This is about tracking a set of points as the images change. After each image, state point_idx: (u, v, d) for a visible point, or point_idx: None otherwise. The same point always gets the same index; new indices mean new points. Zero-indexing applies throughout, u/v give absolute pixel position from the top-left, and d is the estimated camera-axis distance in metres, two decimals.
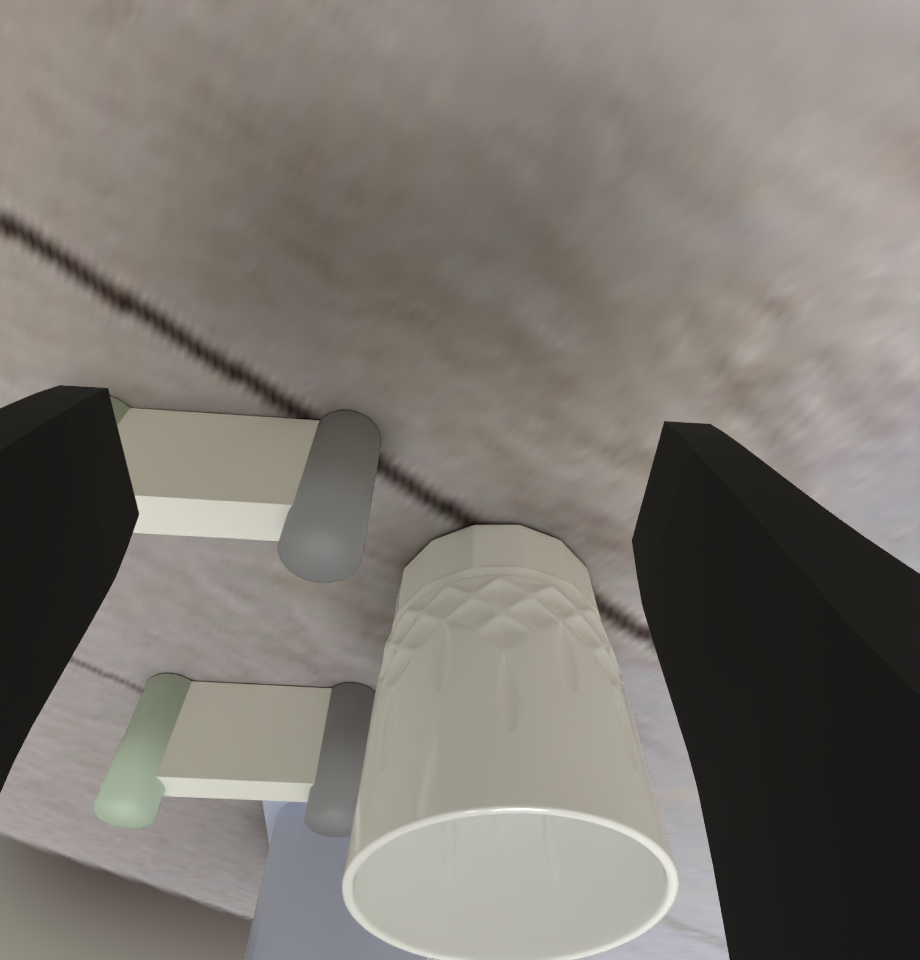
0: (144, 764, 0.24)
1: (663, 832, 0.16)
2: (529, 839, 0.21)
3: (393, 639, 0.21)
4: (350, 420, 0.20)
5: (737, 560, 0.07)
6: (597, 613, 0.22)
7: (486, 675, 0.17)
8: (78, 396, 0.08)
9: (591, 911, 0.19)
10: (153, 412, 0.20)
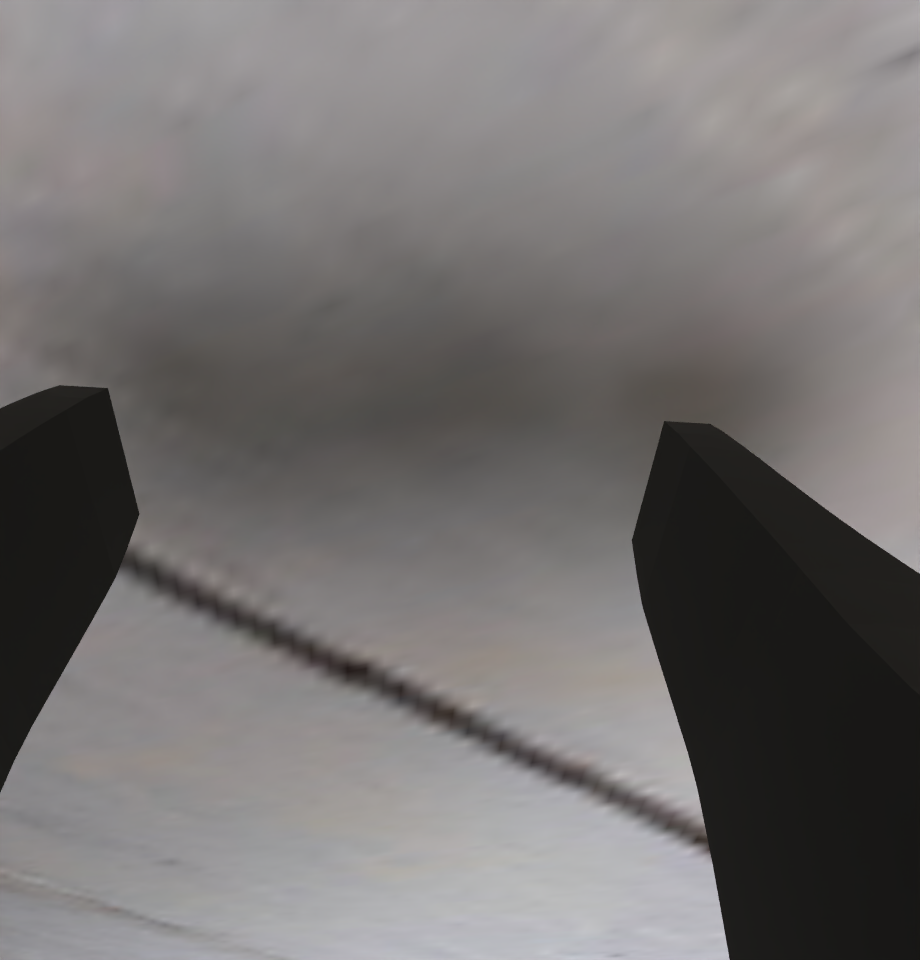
0: None
1: None
2: None
3: None
4: None
5: (737, 560, 0.07)
6: None
7: None
8: (78, 396, 0.08)
9: None
10: None
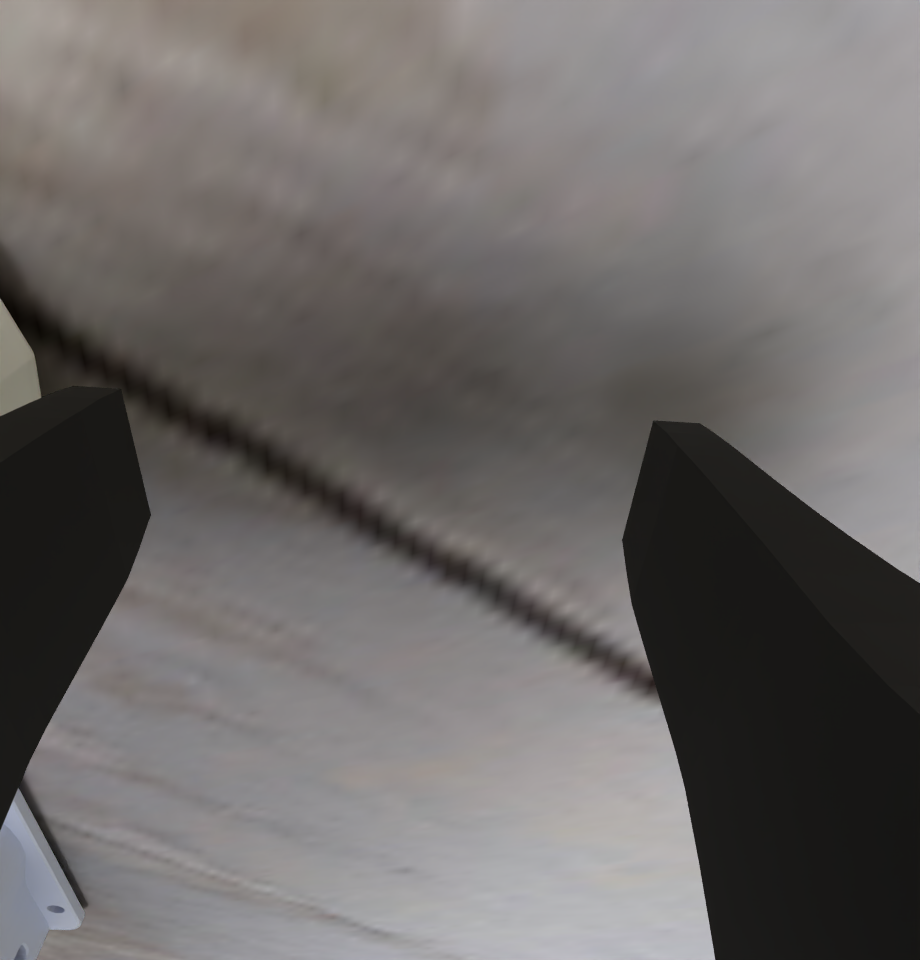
0: None
1: None
2: None
3: None
4: None
5: (723, 559, 0.07)
6: None
7: None
8: (92, 397, 0.08)
9: None
10: None
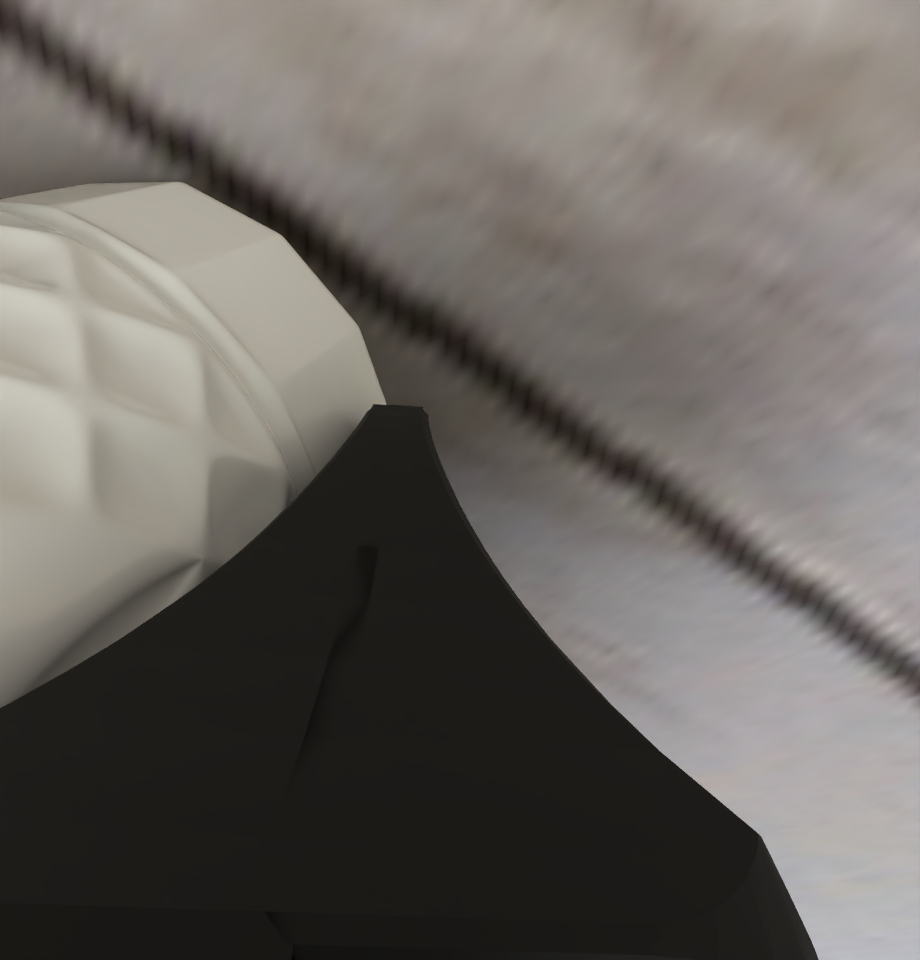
0: None
1: None
2: None
3: None
4: None
5: None
6: (266, 389, 0.08)
7: None
8: (409, 416, 0.09)
9: None
10: None
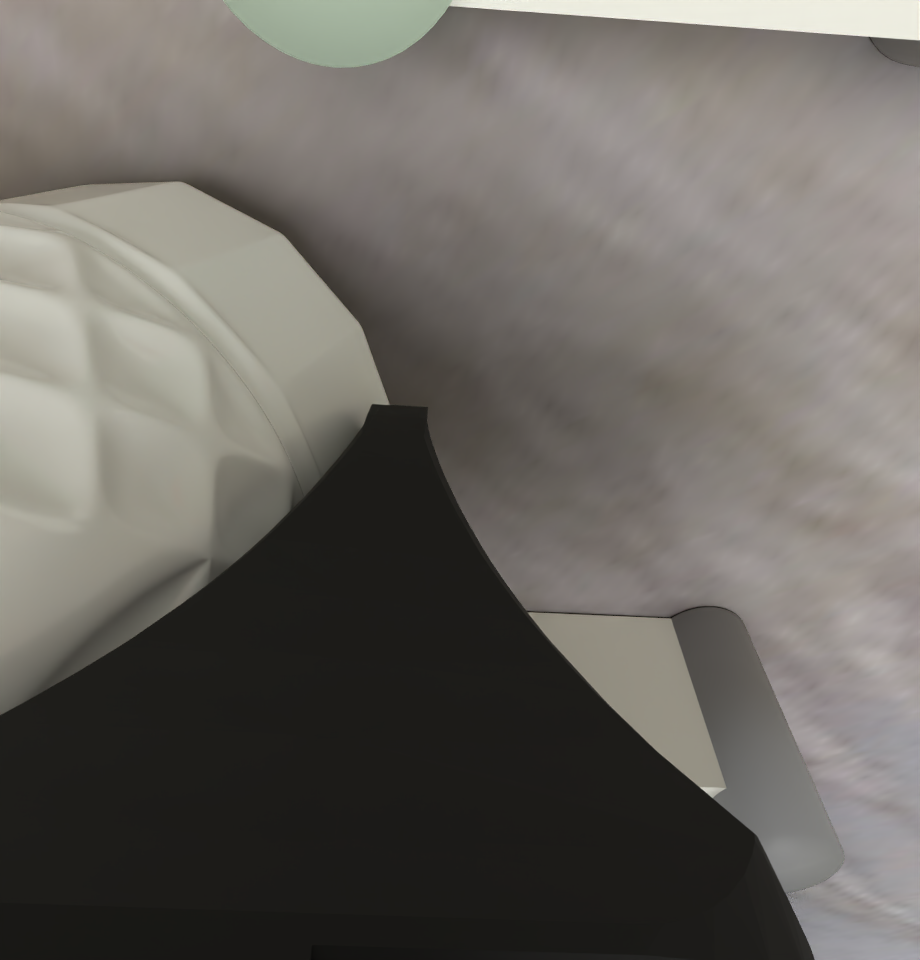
0: None
1: None
2: None
3: None
4: None
5: None
6: (270, 388, 0.08)
7: None
8: (414, 416, 0.09)
9: None
10: None
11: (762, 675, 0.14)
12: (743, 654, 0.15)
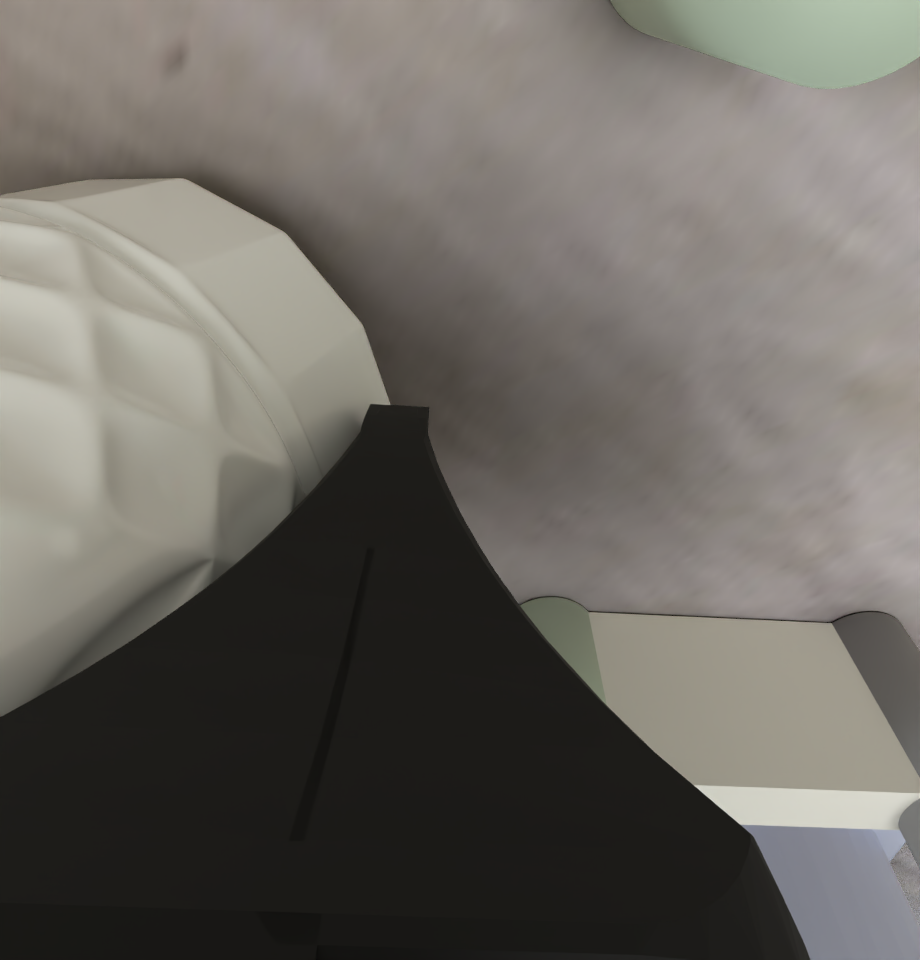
0: None
1: None
2: None
3: None
4: None
5: None
6: (273, 388, 0.08)
7: None
8: (416, 416, 0.09)
9: None
10: None
11: None
12: (916, 659, 0.15)
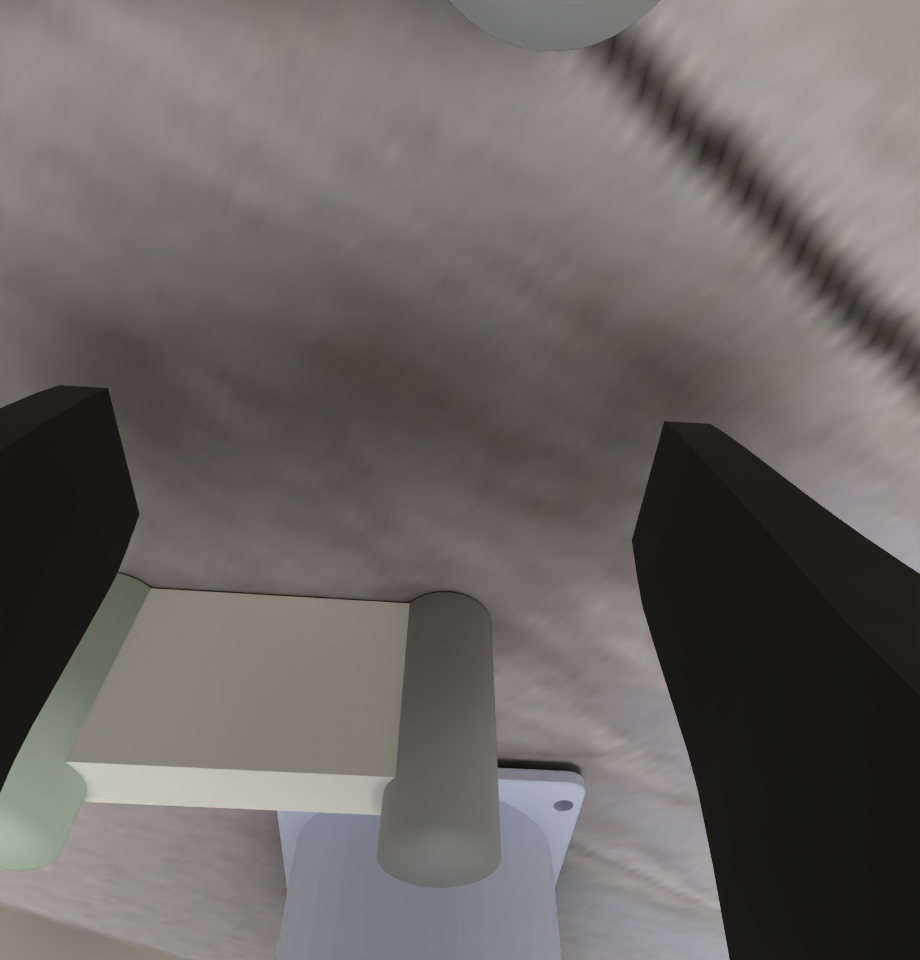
0: (41, 736, 0.12)
1: None
2: None
3: None
4: None
5: (737, 560, 0.07)
6: None
7: None
8: (78, 396, 0.08)
9: None
10: None
11: (477, 662, 0.14)
12: (463, 640, 0.14)
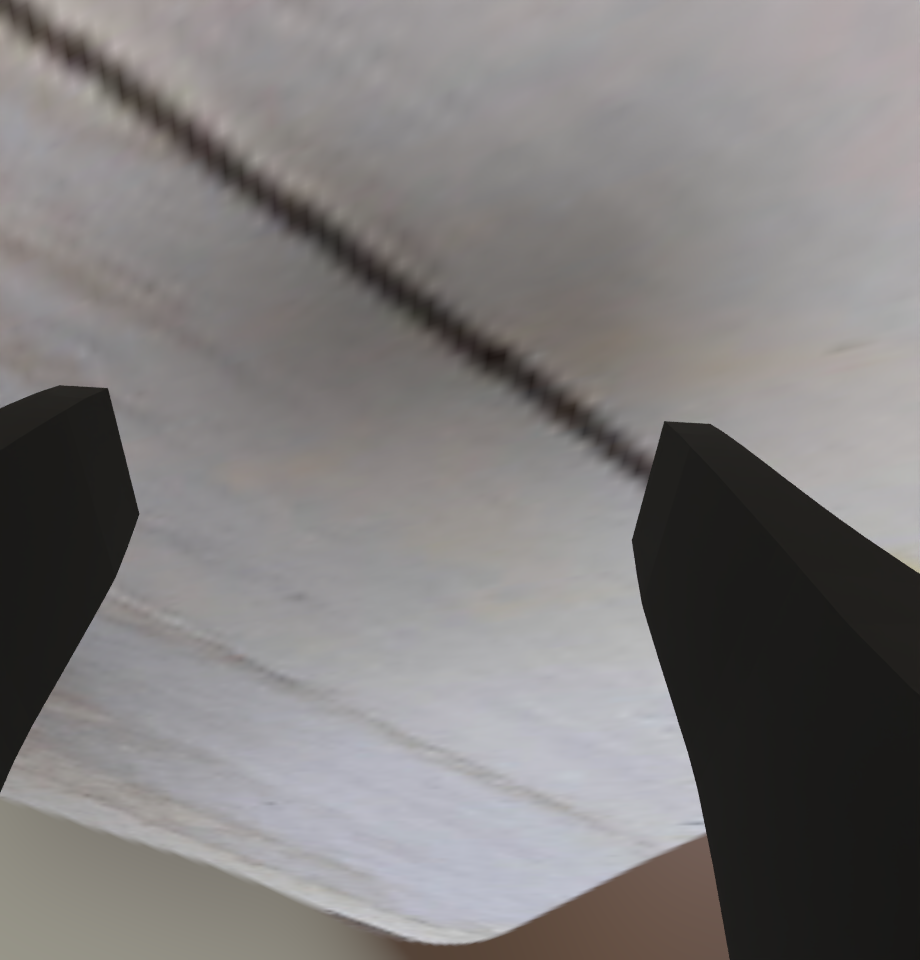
0: None
1: None
2: None
3: None
4: None
5: (737, 560, 0.07)
6: None
7: None
8: (78, 396, 0.08)
9: None
10: None
11: None
12: None
